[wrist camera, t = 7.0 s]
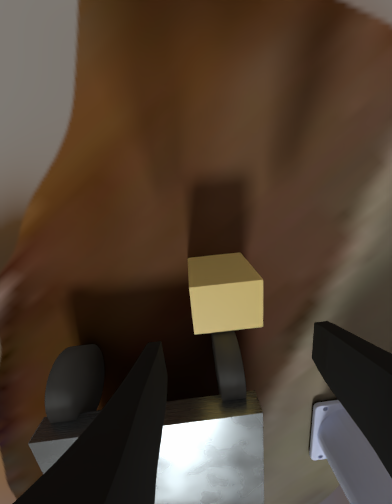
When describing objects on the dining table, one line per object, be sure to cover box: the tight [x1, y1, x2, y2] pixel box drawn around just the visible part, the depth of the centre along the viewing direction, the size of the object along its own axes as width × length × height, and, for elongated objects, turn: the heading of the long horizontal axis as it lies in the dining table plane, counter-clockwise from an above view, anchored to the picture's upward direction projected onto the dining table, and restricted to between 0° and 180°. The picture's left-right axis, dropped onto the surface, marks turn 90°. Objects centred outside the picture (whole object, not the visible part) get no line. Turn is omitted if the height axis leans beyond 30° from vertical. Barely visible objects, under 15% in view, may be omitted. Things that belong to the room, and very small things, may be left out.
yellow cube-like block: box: [188, 252, 263, 335], centre depth 15 cm, size 4×5×5 cm
